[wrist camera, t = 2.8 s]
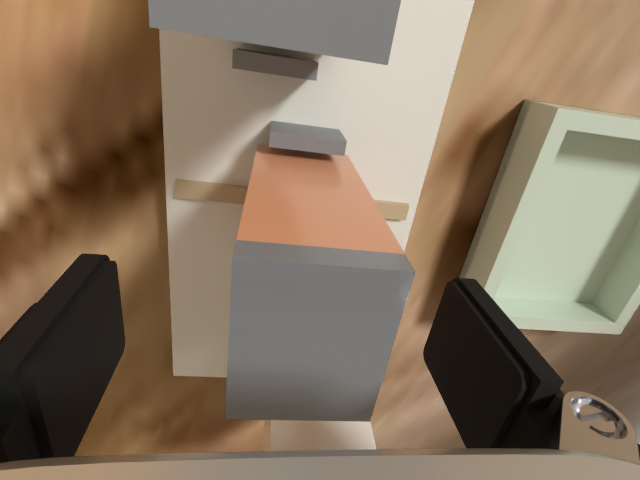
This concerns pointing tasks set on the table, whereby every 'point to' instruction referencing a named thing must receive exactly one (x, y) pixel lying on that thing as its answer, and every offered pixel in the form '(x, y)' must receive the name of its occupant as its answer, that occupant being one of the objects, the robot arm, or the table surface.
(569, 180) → the tray
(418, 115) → the board
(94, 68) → the table surface
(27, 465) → the robot arm
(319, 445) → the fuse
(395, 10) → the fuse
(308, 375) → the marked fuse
